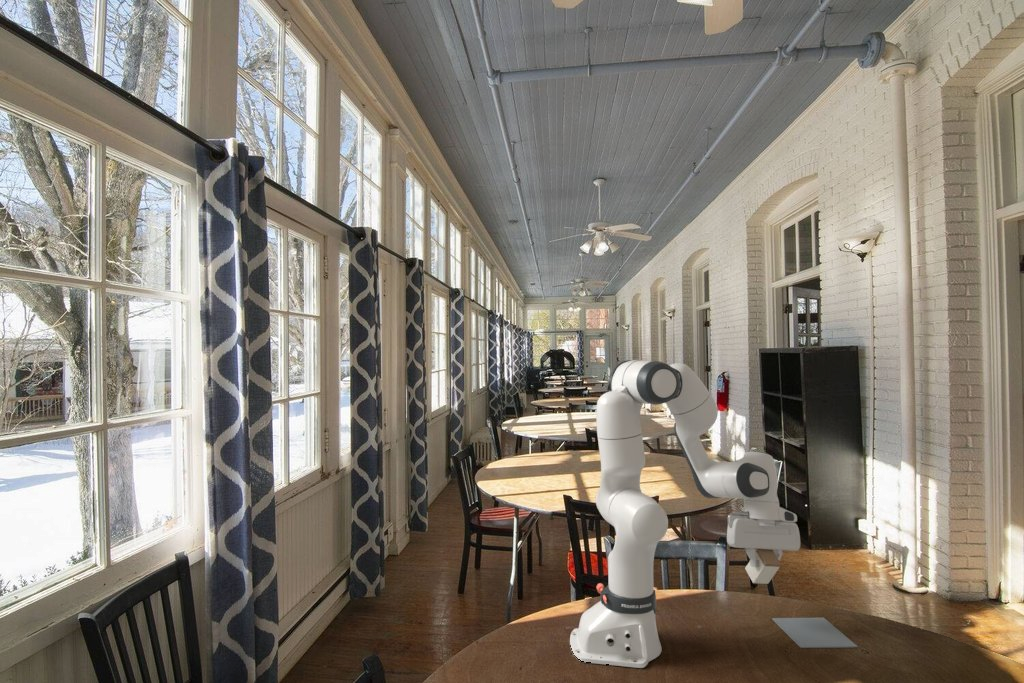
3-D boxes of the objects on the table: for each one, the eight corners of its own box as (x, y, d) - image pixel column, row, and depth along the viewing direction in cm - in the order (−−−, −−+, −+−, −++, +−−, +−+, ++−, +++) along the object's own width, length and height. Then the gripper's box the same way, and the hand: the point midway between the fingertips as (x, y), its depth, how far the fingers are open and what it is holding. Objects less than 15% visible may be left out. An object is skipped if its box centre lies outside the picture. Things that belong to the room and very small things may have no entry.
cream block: (753, 583, 138) (766, 563, 134) (744, 568, 142) (757, 548, 138) (768, 583, 139) (781, 564, 135) (759, 569, 143) (772, 549, 139)
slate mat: (800, 648, 128) (800, 646, 128) (772, 619, 142) (772, 618, 142) (857, 647, 128) (857, 646, 128) (823, 618, 142) (823, 617, 142)
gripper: (735, 511, 137) (737, 567, 133) (802, 515, 141) (806, 570, 137) (720, 509, 143) (722, 563, 139) (785, 514, 147) (789, 566, 143)
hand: (765, 567), depth 138 cm, fingers closed on cream block, 4 cm apart
